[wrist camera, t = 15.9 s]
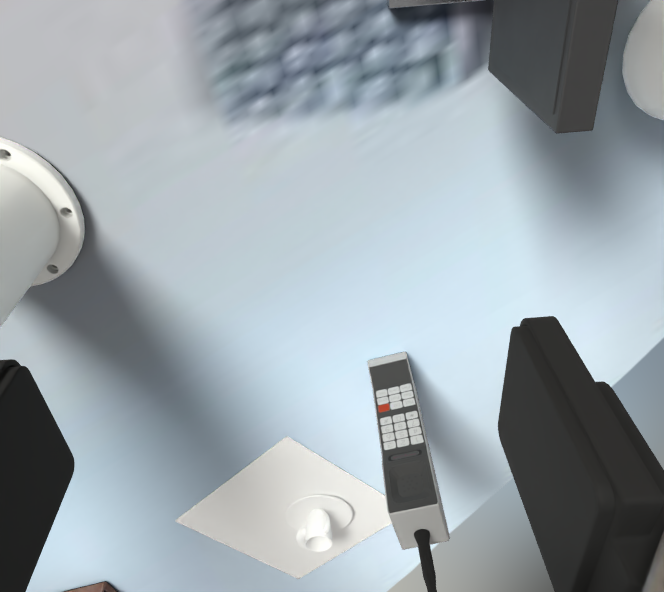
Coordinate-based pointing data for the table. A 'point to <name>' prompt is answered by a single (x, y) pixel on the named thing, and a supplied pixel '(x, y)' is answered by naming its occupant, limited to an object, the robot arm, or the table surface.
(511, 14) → the monitor
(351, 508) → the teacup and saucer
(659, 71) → the flower vase
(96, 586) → the letter holder
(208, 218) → the table surface
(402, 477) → the vintage mobile phone
